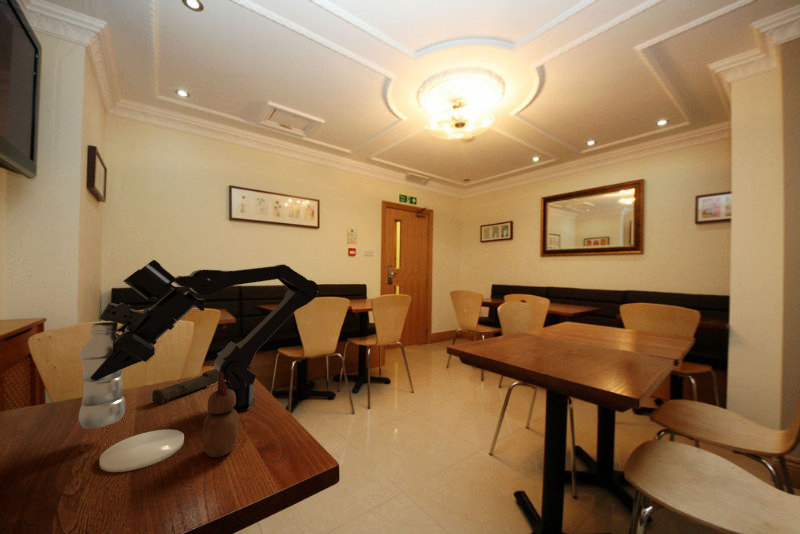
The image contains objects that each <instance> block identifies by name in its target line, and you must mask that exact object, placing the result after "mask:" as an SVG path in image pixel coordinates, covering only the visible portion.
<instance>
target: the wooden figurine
mask: <svg viewBox="0 0 800 534" xmlns="http://www.w3.org/2000/svg"><path fill="white" fill-rule="evenodd" d="M225 382H226V380H224V378H223V373H222V374H221V369H219V378H218V384H217V390H216V391H214V392H212V393H210V395H209V396H208V399H207V410H208V412H209V413H208V415H207V416H206V417H205V419H204V422H203V428H202V445H203V449H204V452H205V454H206V455H207V456H208V457H211V458H220V457H224V456H226V455H227V454H230V452H232V450H233V449H234V448H235V446H236V443H237V439H238V436H239V431H240V430H239V427H240V426H239V423H240V419H239V413H238V411H237V412H236V410H235V409H233V407H234V406H235V404H236V395H235V392H234V391H233V390H231V389H227V387H226V385H225Z"/></svg>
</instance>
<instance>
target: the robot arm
mask: <svg viewBox="0 0 800 534" xmlns="http://www.w3.org/2000/svg"><path fill="white" fill-rule="evenodd" d="M275 280H279V282H280V283H282V285H283V286H285V288H286V289H287V291H286V293H285V295H284V297H283V299H282V301H280V302H279V304H278V305H277V306H276V307H274V309H273V310H271V311H270V312H269V314H267V316H265V318H264V319H263V320H262V321H261V322H259V324H258V325H256V327H254V328H253V329H252V330H251V332H250V333H248V335H246V337H244V338H243V339H242V340H240V341H238V342H237V343H235V342H234V341H229V343H227V344H226V346H225V347H224V348H223V349H222V350H221V351H219V352H217V353H216V354H217V356H216V358H215V360H214V364H213V365H214V366H213V367H214V369H215V370H216V371H217V373H218V374H219V369H221V374H222V373H223V378H224V380H225V385H226V387H227V389H231V390H233V391H234V392H235V395H236V404H235V406H234V407H233V409H235V410H236V412H237V413H238V412H247V411H249V409H250V408H251V406H252V405H253V404H254V403H255V402H256V398H254V382H255V380H256V377H257V375H256V374H255V373H253V372H252V371H251V370H250V369H249V367H250V365H251V364H252V362H253V361H254V358H255V356H256V354H257V352H258V351H259V350H260V348H261V347H262V346H263V345H264V344H265V343H266V342H267V341H268V340H269V339H270V338H271V337H273V335H274V334H275V333H276V332H277V331H278V329H280V328H281V326H283V324H284V323H285V322H286V321H287V320H288V319H289V318H290V317H291V316H292V315H293V314H294V313H295V312H296V311H297V310H299V309H301V308H302V307H304V306H306V305H308V304H310V303H311V302H312V301H313V300H314V299H316V298H317V296H318V295H319V285H318V284H317V282H315V281H314V280H311V279H307V277H305V276H304V275H302V274H300V273H298V272H297V271H296V270H294V269H292V267H290V266H289V265H288V264H284V263H283V264H276V265H272V266H270V265H269V266H262V267H253V268H247V269H246V268H244V269H237V270H222V269H198V270H194V271H191V273H190V274H188V275H183V276H182V275H177V276H174V275H172V274H171V272H169V271H167V270H166V269H165V268H164V267H163V266H162V264H160V263H159V262H158V261H157V260H155V259H152V260H151V261H150V262H149V263H147V264H146V265H144V266H143V267H141V268H139V269H137V270H136V271H134V272H133V273H132V274H130V275H129V276H127V277H126V278H125V279H124V280H122V282H123V283H124V284H126V285H127V286H129V287H130V288H131V289H132V290H134V291H136V292H137V293H138V294H139V295H140V296H142V297H144V298H145V299H146V300H149V299H150V298H151V297H152V298H154V299H155V300H157V299H159V298H160V297H161V296H163V295H164V294H165V293H167V292H168V291H169V290H170V289H172V290H171V291H170V292H168V293H167V294H166V295H165V296H163V297H162V298H161V299H160V300H159V301H157V302H156V303H155V304H153V305H152V306H151V307H146V308H145V309H144V310H142V311H141V310H137V309H134V308H131V304H125V303H123V302H120V303H119V304H117V303H113V302H111V301H110V302H108V303H107V305H106V306H105V308H104V309H103V311H102V313H101V314H100V315H99V316H98V319H99V320H101V321H104V322H116V323H118V324H120V326H119V327H117V329H118V332H116V335H117V336H118V338H117V339H116V340H113V352H112V353H111V354H110V355H109V356H108V358H107V359H106V360H105V361H104V362H103V363H102V364H101V366H100V367H99V368H98V369H97V370H96V371H95V372H94V374H93V375H92V376H91V379H92V380H94V381H97V380H99V379H101V378H103V377H106V376H108V375H110V374H112V373H115V372H117V371H119V370H121V369H123V370H124V369H125V368H127V367H131V366H132V365H133V366H134V365H135V364H138V363H142V362H144V363H146V362H147V361H149V359H151V358H152V357H153V356H154V355H155V354H156V353H155V350H156V349H155V348H156V347H155V345H156V344H157V343H158V340H159V339H160V338H161V337H162V336H164V334H166V333H167V332H168V331H172V329H174V328H175V325H176V324H177V323H178V322H179V321H180V320H181V319H183V318H184V317H185V316H186V315H187V314H189V312H190V311H191V310H193V308H196V309H198V310H199V311H201V312H204V311H205V301H206V300H205V298H198V297H196V296H195V295H194V294H193V293H191V292H190V291H192V292H194V293H196V294H199V295H210V294H214V293H216V292H220V291H223V290H225V289H228V288H231V287H235V286H238V285H239V286H240V285H247V284H253V283H260V282H261V283H262V282H267V281H268V282H269V281H275ZM173 283H174V284H175V285H176V286H179V287H182V288H187V289H188V288H189V290H190V291H189V290H188V291H185V292H182V291H181V290H180V289H179V288H177V287H176V286H175V285H174V284H173ZM254 401H255V402H254ZM253 402H254V403H253Z"/></svg>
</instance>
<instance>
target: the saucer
mask: <svg viewBox="0 0 800 534" xmlns="http://www.w3.org/2000/svg"><path fill="white" fill-rule="evenodd" d="M184 444H185V434H184V433H183V432H182V431H180V430H177V429H157V430H152V431H151V430H150V431H148V432H142V433H139V434H136V435H133V436H130V437H127V438H125V439H123V440H121V441H118V442H117V443H114V444H113V445H112V446H110V447H108V448H107V449H105V451H103V452H102V453H101V454H100V457H99V468H100V469H101V470H103V471H104V472H108V473H124V472H131V471H134V470H139V469H143V468H146V467H149V466H152V465H155V464H157V463H160V462H161V461H164V460H166V459H168V458H169V457H171V456H172V455H174V454H175V453H177V452H178V451H180V450H181V448H182V447H183V445H184Z"/></svg>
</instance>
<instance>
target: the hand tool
mask: <svg viewBox="0 0 800 534" xmlns="http://www.w3.org/2000/svg"><path fill="white" fill-rule="evenodd" d="M218 378H219V374H218V373H217V371H216V370H215V368H214V369H210V370H206V371H204V372H202V375H200V376H198V377H197V376H196V377H195V378H192V379H188V380H186V381H182V382H180V383H175V384H172V385H169V386H166V387H164V388H160V389H154V390H152V395H151V396H152V397H151V398H152V399H151V401H152V403H153V404H154V405H157V406H161V405H163V403H169V401H171V400H173V399H175V398H176V399H177V398H178V397H181V396H184V395H186V394H189V393H191V392H194V391H197V390H199V389H203V388H205V387H207V386H210V385H211V384H214V383H216V382H217V381H218Z"/></svg>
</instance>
